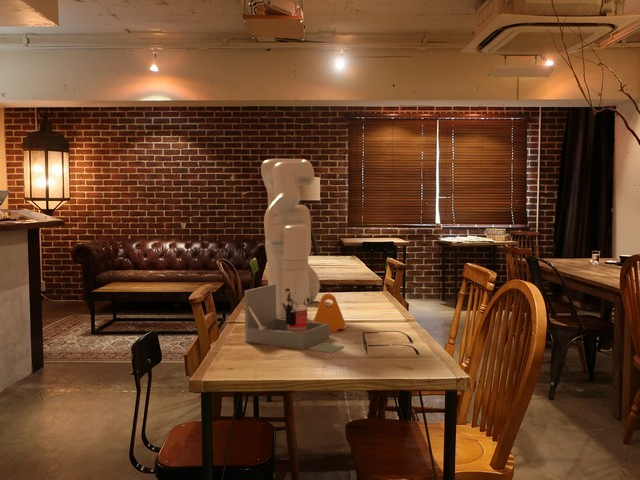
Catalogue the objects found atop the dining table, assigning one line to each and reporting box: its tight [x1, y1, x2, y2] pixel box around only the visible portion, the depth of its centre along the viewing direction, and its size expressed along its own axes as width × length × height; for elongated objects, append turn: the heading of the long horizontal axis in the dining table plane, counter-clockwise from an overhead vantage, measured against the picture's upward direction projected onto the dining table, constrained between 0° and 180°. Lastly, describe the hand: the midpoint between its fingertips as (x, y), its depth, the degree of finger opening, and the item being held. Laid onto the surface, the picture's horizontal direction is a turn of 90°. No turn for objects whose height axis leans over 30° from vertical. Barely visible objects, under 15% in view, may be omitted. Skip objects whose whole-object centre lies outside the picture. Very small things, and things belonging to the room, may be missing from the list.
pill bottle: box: [287, 298, 308, 333], centre depth 167 cm, size 6×6×11 cm
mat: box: [309, 342, 345, 354], centre depth 158 cm, size 8×8×1 cm
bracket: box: [312, 293, 346, 332], centre depth 183 cm, size 11×7×12 cm, turn 90°
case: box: [243, 284, 330, 350], centre depth 168 cm, size 21×16×16 cm
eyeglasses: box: [362, 330, 420, 355], centre depth 157 cm, size 16×16×4 cm
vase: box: [308, 263, 320, 304], centre depth 236 cm, size 13×13×17 cm
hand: (296, 321), depth 168 cm, fingers closed on pill bottle, 6 cm apart
